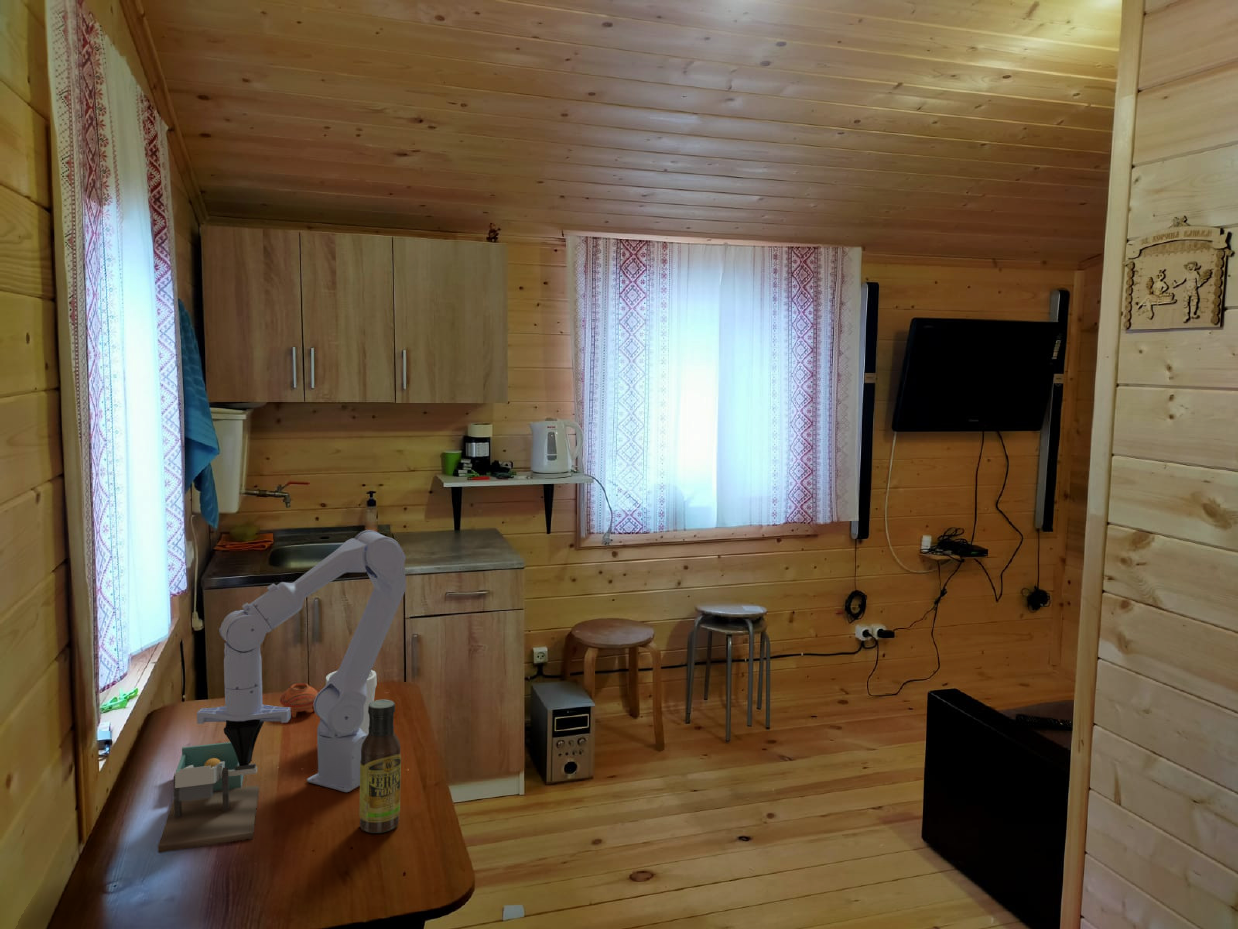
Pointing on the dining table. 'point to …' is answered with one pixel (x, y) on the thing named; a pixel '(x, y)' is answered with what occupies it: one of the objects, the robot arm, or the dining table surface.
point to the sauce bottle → (380, 771)
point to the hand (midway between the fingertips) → (245, 763)
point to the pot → (299, 698)
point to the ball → (212, 762)
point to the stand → (210, 818)
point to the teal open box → (206, 752)
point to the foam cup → (370, 686)
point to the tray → (205, 779)
